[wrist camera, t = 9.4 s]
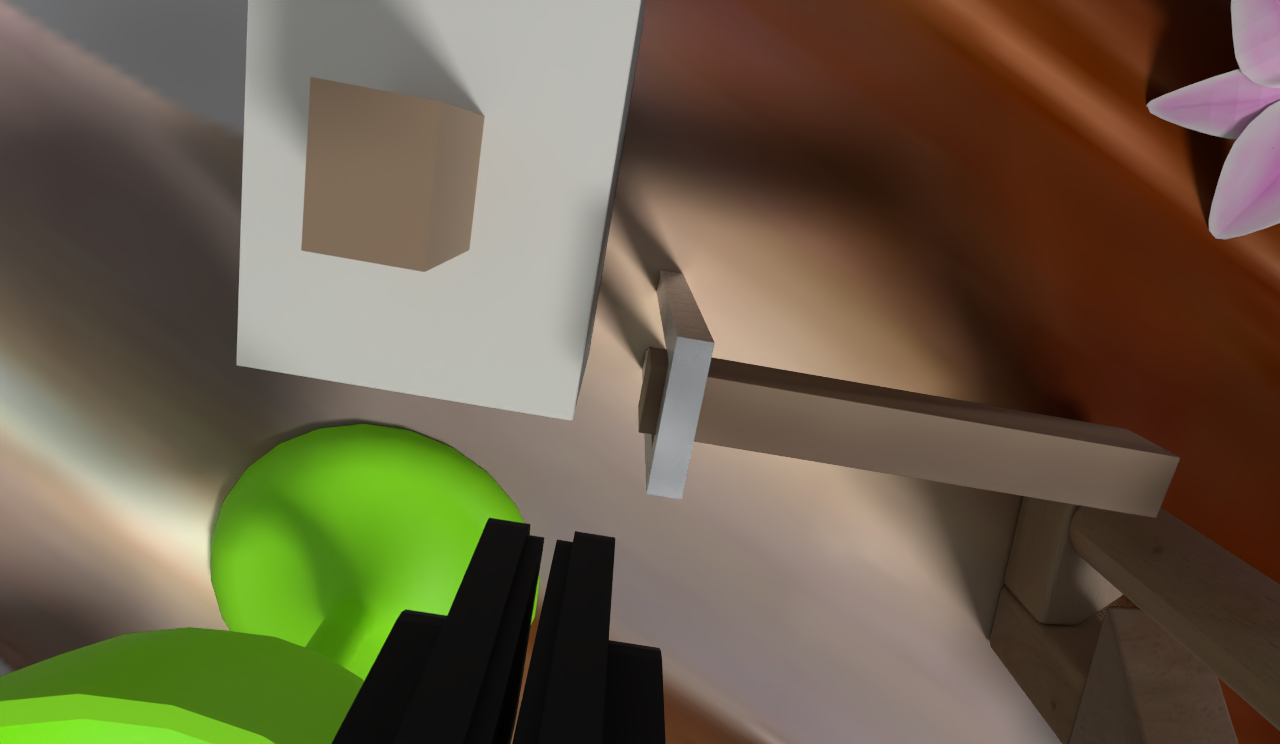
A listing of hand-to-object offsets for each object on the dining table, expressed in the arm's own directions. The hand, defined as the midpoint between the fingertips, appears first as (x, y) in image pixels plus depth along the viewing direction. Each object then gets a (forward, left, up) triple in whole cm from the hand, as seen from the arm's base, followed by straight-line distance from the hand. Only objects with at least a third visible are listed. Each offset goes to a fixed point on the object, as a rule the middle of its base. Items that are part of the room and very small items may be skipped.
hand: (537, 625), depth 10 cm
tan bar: (0, +10, -14) cm, 17 cm away
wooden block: (+8, +23, -24) cm, 34 cm away
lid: (-5, -6, -17) cm, 18 cm away
